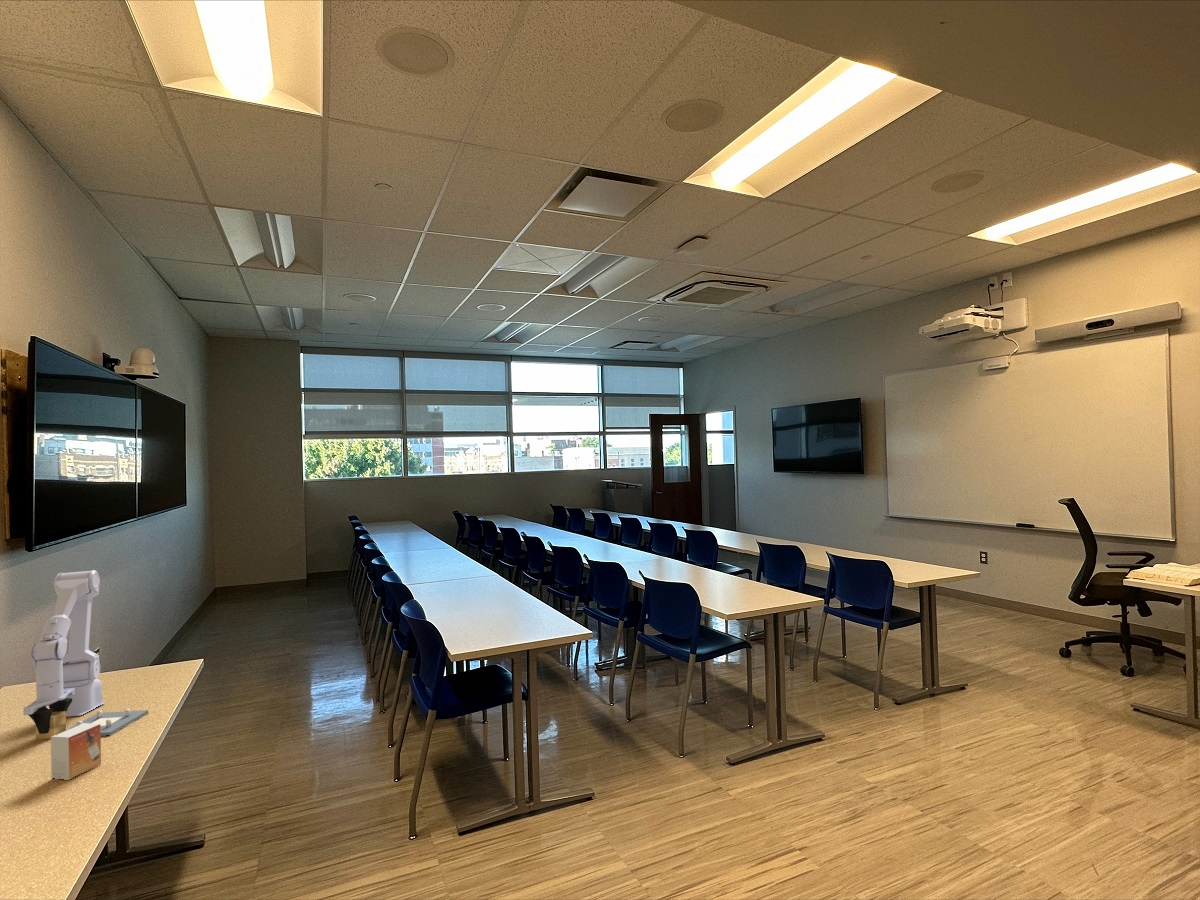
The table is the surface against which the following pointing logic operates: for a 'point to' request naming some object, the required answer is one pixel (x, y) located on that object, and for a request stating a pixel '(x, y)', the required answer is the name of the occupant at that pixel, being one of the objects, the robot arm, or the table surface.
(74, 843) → the table surface
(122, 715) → the pin board
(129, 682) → the table surface
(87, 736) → the small box
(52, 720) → the ochre block
